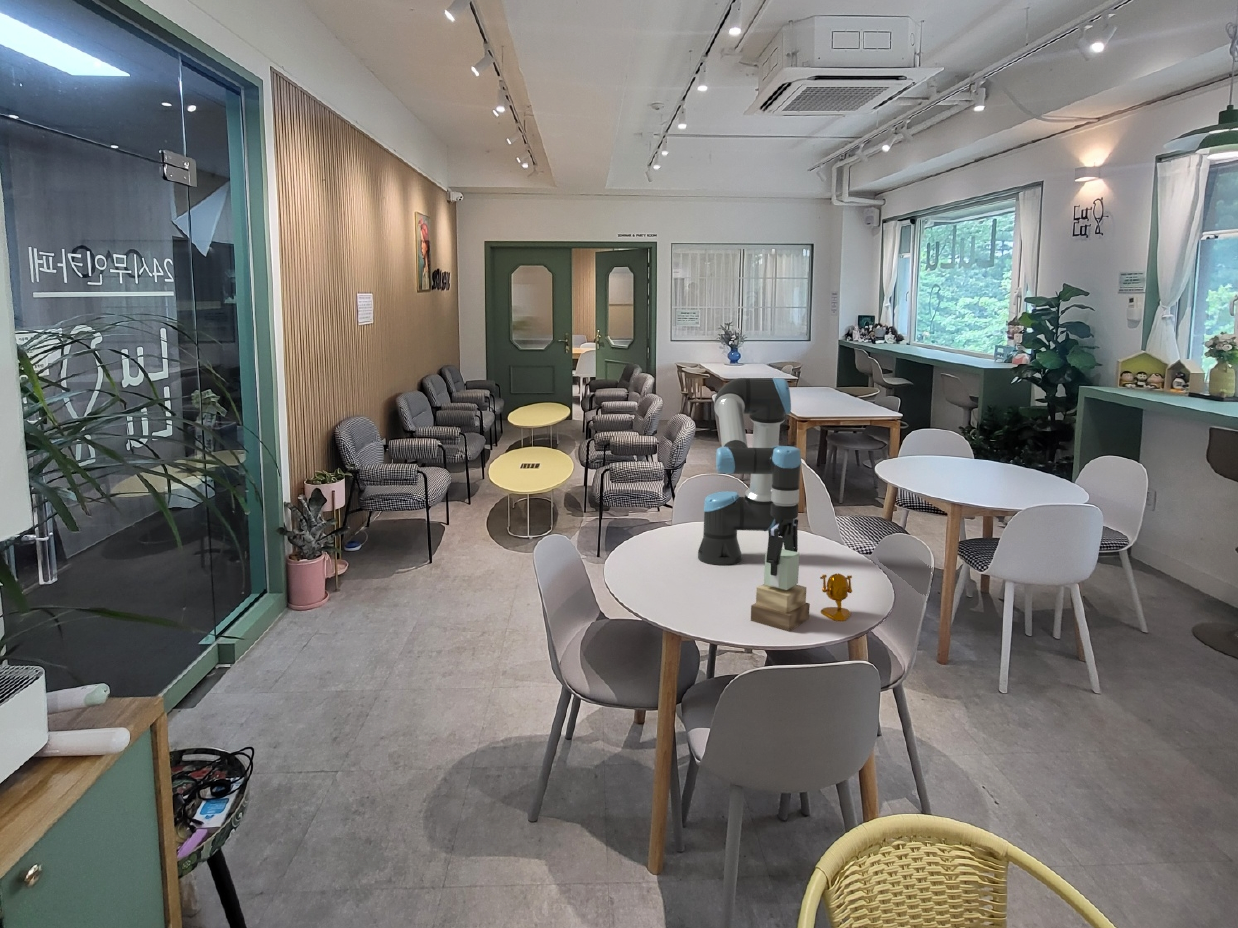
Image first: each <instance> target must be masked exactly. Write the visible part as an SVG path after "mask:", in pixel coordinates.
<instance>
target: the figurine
mask: <svg viewBox="0 0 1238 928" xmlns="http://www.w3.org/2000/svg"><path fill="white" fill-rule="evenodd" d="M819 578H820V580H822V581H823V582H822V589H821V591H822V593H824V594H826V596H827V597H828V599H830V600H832V601H835V604H836V606H837V607H836V606H827V607H823V608H822V609H820V614H822V615H823V616H825V617H826V618H828V619H829V620H832V621H833V622H846V621H847V620H848V619H849V618H850V617H851V615H852V614H851V613H852V611H850V610H849V609H847V608H845V607H842V601H844V600H846V599H847V598H848V595H849V594H852V593H853V590H852V581H851V579H852V578H853V576H852V575H849V574H848V575H847V576H845V575H844V574H841V573H833V574H832V575H830V576H829V578H828V579H827V574H822V575H821V576H820V577H819ZM826 579H827V581H826Z"/></svg>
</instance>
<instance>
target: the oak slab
mask: <svg viewBox="0 0 1238 928" xmlns="http://www.w3.org/2000/svg"><path fill="white" fill-rule="evenodd" d="M755 593H756V595H755V597H756V598H755V603H756V604H757V605H761V606H764V607H767V608H770V609H773V610H777V611H780V612H783V613H788V612H790V611H792V610H795V609H797V608H799V607H801V606H803V605H805V604H806V603H807V602H806V601H807V586H803V585H800V584H796V585H794V586H793V587H791V588H789V589H788V590H784V589H780V588H776V587H772V586H768V585H764V583H763V584H762V585H759V586H757V587H756V591H755Z"/></svg>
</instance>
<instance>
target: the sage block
mask: <svg viewBox="0 0 1238 928" xmlns="http://www.w3.org/2000/svg"><path fill="white" fill-rule="evenodd" d="M766 559H767V552H766V553H765V554H764V572H763V573H764V575H763V576H764V579H763V584H764V585H768V586H772V585H770V566H771V564H770V563H767V562H766ZM779 564H781V569H780V587H776V586H772V587H776V588H780V589H784V590H788V589H789V588H791V587H793V586H794V585H798V584H799V569H800V567H799V566H800V552H798V551H797V552H794V551H789V550H785V549H784V548H782V551H781V556H780V561H779Z"/></svg>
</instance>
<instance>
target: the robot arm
mask: <svg viewBox="0 0 1238 928" xmlns="http://www.w3.org/2000/svg"><path fill="white" fill-rule="evenodd" d="M713 405H714V406H713V407H714V408H713V409H714V413H715V414H716V416H717V417H718V423H719V425H718V426H719V431H720V432H719V434H720V435H719V436H720V443H721V446H720V447H718V448H717V449H716V452H715V453H716V455H715V465H716V467H715V468H716V471H717V473H719V474H728V475H737V474H738V475H742V474H743V475H744V474H745V475H746V474H747V475H750V482H749V483H750V484H749V488H747V489H746V490H745V492H744V496H740V495H739V493H738V492H737V491H730V490H729V491H727V490H726V491H725V490H724V491H718V492H717V491H716V492H713V493H711V494H708V495H707V496H705V499H704V503H703V504H704V506H703V532H702V533H703V535H702V536H703V537H702V538H701V539H702V540H701V542H700V545H699V547H698V551H697V558H698V560H699V561H701V562H703V563H705V564H708V565H709V564H710V565H716V566H725V565H734V564H737V563H739V562H741V561H742V551H741V550H742V549H741V547H740V544H739V539H738V531H753V532H755V531H756V532H757V531H759V532H768V542H767V551H766V553H767V559H766V562H767V563H770V564H771V566H770V585H772V586H776V587H780V569H781V564H779V561H780V556H781V551H782V549H784V550H789V551H794V552H798V551H799V550H798V546H799V545H798V544H799V543H798V540H799V539H798V531H799V529H798V527H799V519H797V518H798V517H799V504H798V503H800V481H801V480H800V478H801V466H802V465H801V464H802V456H801V455H802V454H801V452H802V451H801V449H800V448H798V447H795V446H788V445H780V444H779V441H780V428H781V425H782V423H784V422H785V420H786V415H790V414H791V412H792V411H791V410H792V399H791V391H790V386H789V382H788V381H787V380H786V379H784V378H775V377H748V378H747V377H738V378H734V379H732V380H730V381H728V382H727V383H725V384H724V385H723V386H722V387H721V388H720V389H719V390H718V392H717V394H716V396H715V397H714V402H713ZM744 414H745V415H746V414H747V415H749V416H748V417H749V420H750V421H751V422H752V423H753V429H752V432H753V433H752V447H749V445H748V440H747V433H746V427H745V426H746V425H745V421H744Z"/></svg>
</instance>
